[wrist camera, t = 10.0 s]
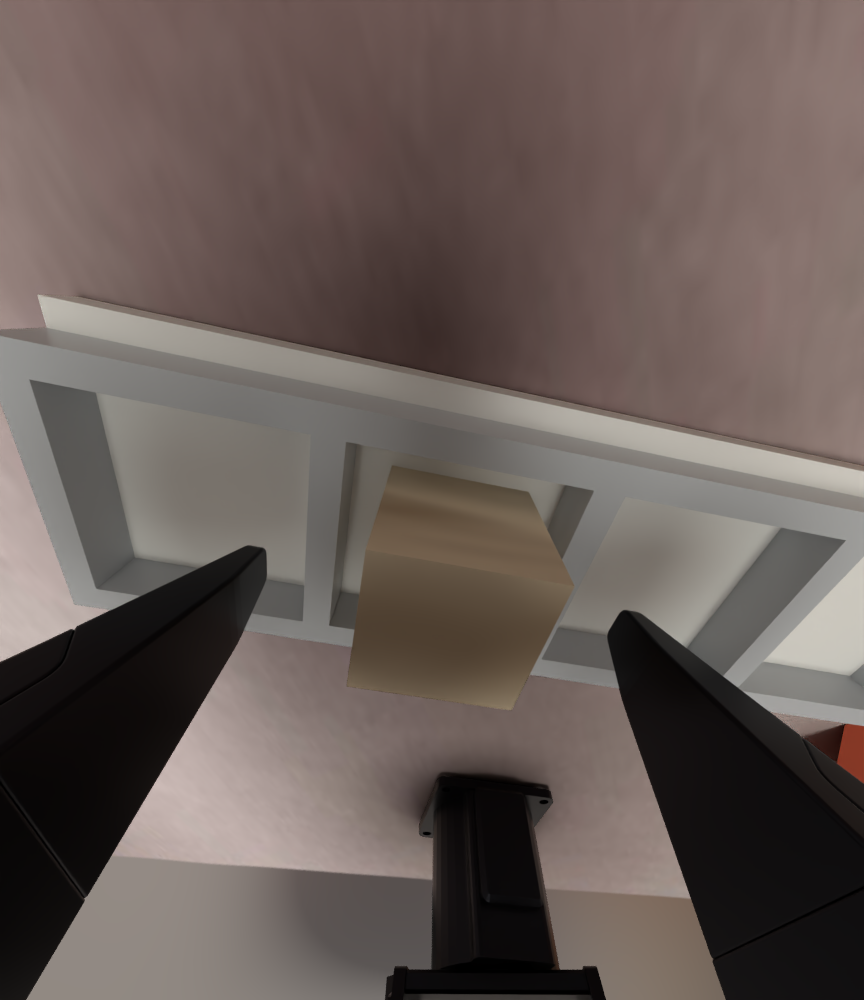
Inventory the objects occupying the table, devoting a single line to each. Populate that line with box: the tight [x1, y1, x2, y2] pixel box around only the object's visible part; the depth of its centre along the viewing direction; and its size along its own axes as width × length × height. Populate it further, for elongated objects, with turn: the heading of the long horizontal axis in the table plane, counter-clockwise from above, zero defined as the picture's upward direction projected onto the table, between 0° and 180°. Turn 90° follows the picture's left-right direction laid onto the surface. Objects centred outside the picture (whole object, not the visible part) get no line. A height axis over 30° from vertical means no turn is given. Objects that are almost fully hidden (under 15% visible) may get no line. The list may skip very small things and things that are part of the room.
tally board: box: [0, 295, 864, 726], centre depth 11 cm, size 9×28×2 cm, turn 79°
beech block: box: [347, 465, 575, 710], centre depth 9 cm, size 4×4×4 cm
